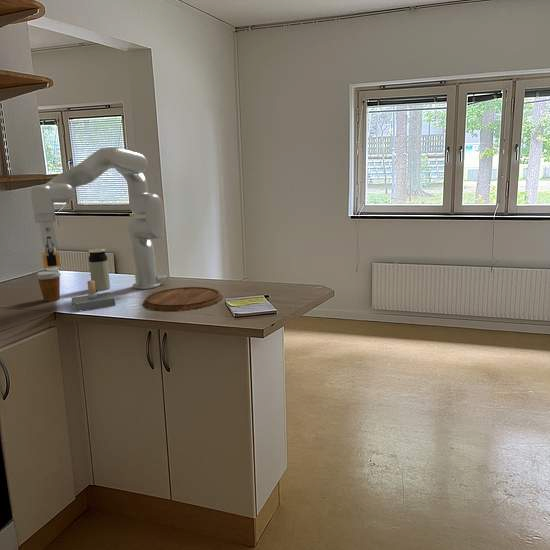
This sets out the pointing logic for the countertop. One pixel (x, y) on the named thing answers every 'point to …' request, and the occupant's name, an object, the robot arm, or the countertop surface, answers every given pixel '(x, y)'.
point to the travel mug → (99, 269)
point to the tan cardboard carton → (44, 260)
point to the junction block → (93, 299)
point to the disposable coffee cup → (49, 284)
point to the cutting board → (182, 298)
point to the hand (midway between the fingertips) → (51, 263)
